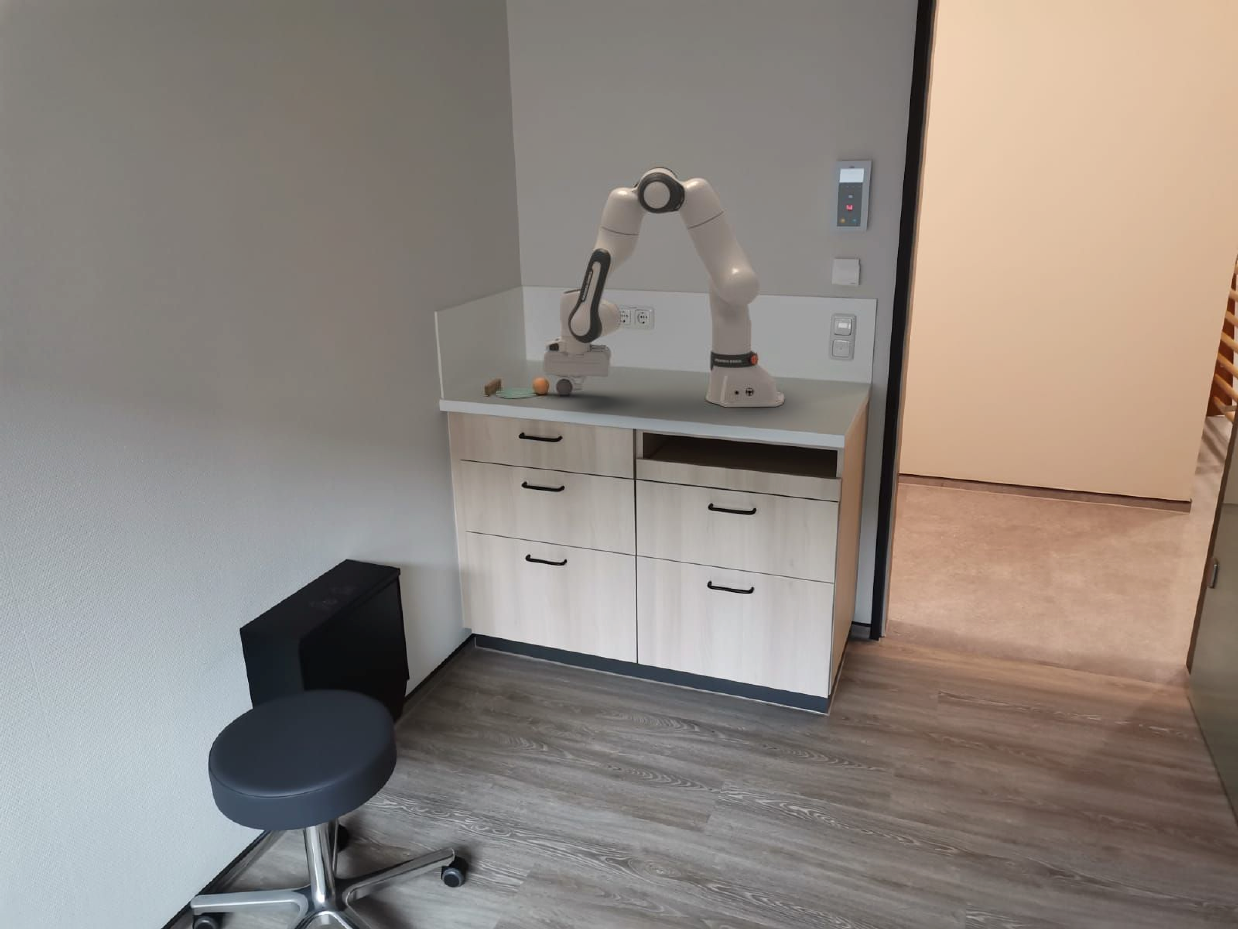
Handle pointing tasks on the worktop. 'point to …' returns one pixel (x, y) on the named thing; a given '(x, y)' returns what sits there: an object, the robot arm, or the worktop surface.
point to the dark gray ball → (564, 387)
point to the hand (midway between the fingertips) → (577, 389)
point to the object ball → (541, 385)
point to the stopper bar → (493, 387)
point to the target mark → (517, 392)
